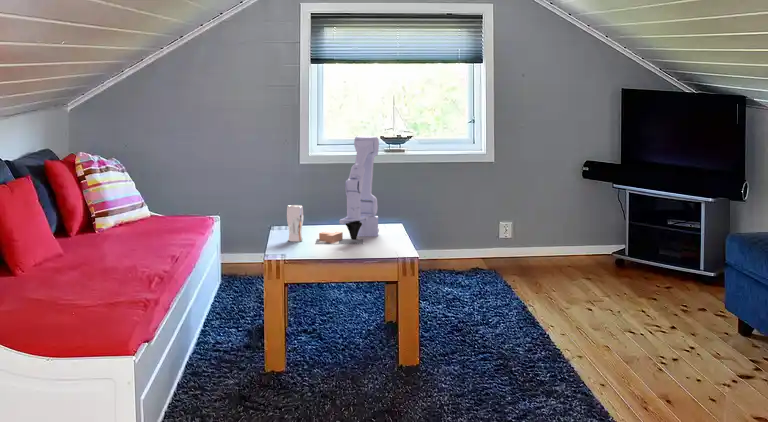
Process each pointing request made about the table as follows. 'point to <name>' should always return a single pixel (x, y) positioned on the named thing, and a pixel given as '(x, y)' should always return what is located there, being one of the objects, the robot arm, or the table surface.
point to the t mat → (341, 241)
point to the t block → (331, 236)
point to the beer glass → (295, 222)
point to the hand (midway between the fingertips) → (353, 239)
